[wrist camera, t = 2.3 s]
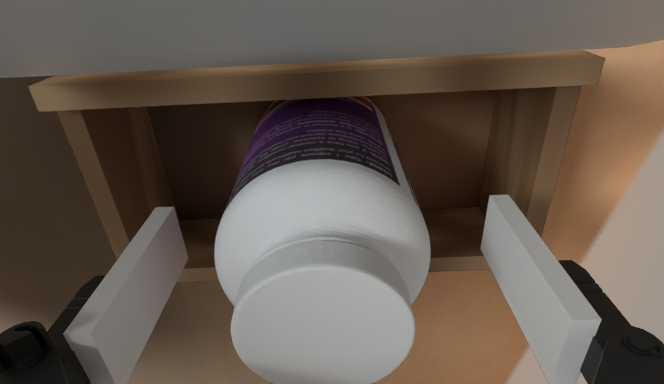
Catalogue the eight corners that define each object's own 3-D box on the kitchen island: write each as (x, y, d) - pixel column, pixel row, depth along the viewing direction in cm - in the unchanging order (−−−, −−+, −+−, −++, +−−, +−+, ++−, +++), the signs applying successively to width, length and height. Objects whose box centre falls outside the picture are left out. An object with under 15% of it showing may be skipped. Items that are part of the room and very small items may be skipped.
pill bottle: (229, 139, 24) (124, 331, 12) (328, 46, 22) (330, 165, 9) (319, 222, 27) (313, 444, 15) (416, 149, 25) (509, 344, 12)
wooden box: (168, 233, 28) (123, 310, 21) (112, 50, 21) (27, 86, 15) (491, 218, 27) (537, 293, 21) (525, 29, 21) (605, 58, 15)
